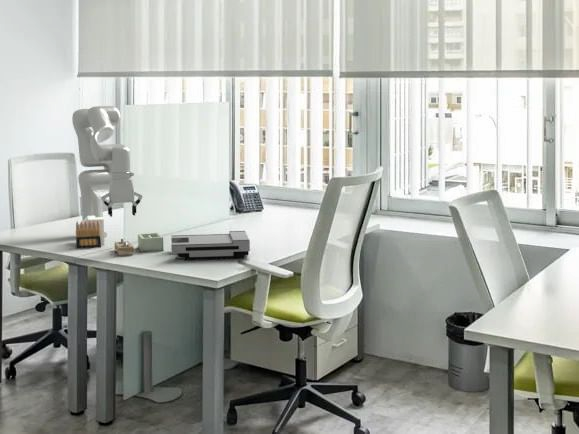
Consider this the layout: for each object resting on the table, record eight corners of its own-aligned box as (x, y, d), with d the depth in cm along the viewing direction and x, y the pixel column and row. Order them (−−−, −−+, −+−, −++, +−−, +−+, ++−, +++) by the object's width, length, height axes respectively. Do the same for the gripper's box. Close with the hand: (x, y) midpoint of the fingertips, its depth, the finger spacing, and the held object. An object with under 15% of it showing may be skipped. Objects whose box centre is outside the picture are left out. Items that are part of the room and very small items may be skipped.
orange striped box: (104, 245, 337) (103, 219, 335) (78, 246, 334) (77, 220, 332) (103, 240, 347) (102, 215, 345) (78, 242, 344) (76, 216, 342)
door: (114, 248, 328) (114, 242, 327) (128, 247, 330) (128, 241, 329) (119, 255, 316) (119, 248, 315) (133, 254, 318) (133, 247, 317)
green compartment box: (138, 247, 333) (137, 234, 332) (158, 245, 337) (157, 232, 336) (142, 252, 323) (142, 238, 322) (163, 250, 326) (163, 237, 325)
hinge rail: (116, 249, 328) (115, 238, 327) (127, 249, 330) (127, 237, 329) (120, 256, 316) (120, 244, 315) (132, 255, 318) (132, 243, 317)
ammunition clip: (76, 248, 331) (74, 221, 328) (76, 247, 332) (74, 221, 330) (101, 247, 333) (100, 220, 331) (101, 246, 335) (100, 220, 333)
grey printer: (171, 251, 327) (171, 232, 326) (245, 249, 332) (244, 230, 330) (171, 262, 307) (171, 242, 305) (249, 259, 312) (249, 240, 310)
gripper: (140, 173, 324) (141, 212, 327) (99, 175, 317) (100, 215, 321) (143, 176, 317) (144, 216, 320) (101, 177, 311) (102, 218, 314)
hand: (122, 215), depth 321 cm, fingers open, 9 cm apart
